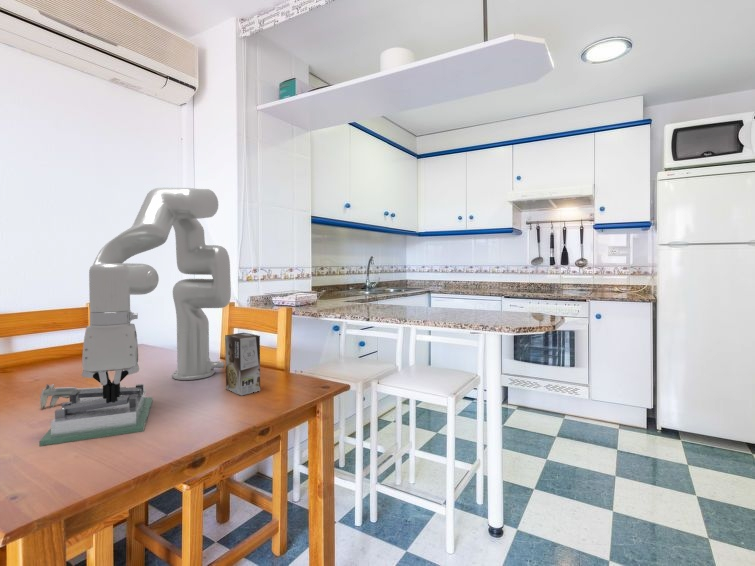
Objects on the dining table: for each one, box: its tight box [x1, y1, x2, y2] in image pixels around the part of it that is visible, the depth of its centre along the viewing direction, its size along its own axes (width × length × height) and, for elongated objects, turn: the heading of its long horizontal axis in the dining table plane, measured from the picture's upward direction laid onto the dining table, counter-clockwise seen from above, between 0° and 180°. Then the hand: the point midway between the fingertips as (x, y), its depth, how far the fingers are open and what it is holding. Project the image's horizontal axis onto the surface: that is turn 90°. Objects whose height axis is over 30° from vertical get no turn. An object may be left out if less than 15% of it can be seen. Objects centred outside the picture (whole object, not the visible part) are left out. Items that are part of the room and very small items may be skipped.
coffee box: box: [224, 332, 261, 397], centre depth 117 cm, size 9×6×16 cm
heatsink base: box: [38, 383, 154, 447], centre depth 94 cm, size 18×22×6 cm
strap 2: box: [78, 386, 142, 398], centre depth 98 cm, size 13×3×1 cm, turn 115°
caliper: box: [40, 383, 127, 410], centre depth 109 cm, size 20×1×6 cm, turn 144°
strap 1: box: [60, 396, 129, 414], centre depth 90 cm, size 13×3×1 cm, turn 114°
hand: (111, 400), depth 90 cm, fingers closed
